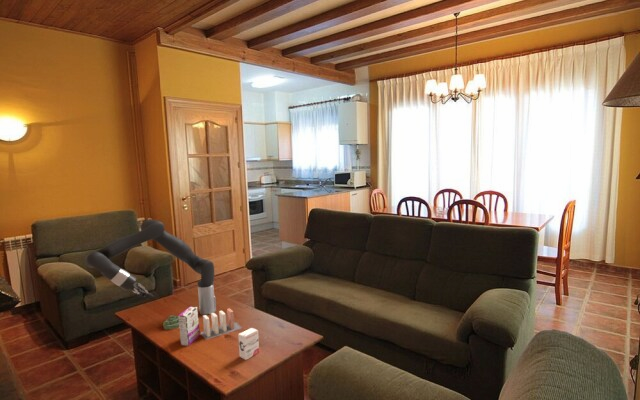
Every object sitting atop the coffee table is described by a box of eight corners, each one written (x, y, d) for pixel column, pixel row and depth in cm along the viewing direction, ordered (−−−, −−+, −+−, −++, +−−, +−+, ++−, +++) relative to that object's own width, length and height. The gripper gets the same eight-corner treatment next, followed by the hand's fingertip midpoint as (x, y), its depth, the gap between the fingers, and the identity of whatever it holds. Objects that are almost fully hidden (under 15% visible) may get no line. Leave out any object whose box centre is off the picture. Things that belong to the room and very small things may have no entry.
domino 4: (230, 324, 207) (229, 308, 206) (234, 328, 202) (233, 311, 201) (227, 325, 206) (226, 308, 205) (231, 329, 201) (230, 312, 200)
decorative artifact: (159, 327, 207) (171, 331, 202) (158, 316, 206) (170, 319, 201) (175, 320, 216) (186, 324, 210) (174, 309, 215) (185, 312, 210)
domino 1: (207, 332, 199) (205, 314, 198) (210, 336, 195) (209, 318, 193) (204, 333, 198) (202, 315, 197) (207, 337, 194) (206, 319, 192)
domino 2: (215, 329, 202) (213, 312, 200) (218, 333, 197) (217, 316, 196) (212, 330, 201) (211, 313, 200) (215, 334, 196) (214, 316, 195)
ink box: (253, 349, 181) (251, 326, 180) (259, 352, 178) (258, 329, 176) (239, 356, 175) (237, 333, 173) (245, 360, 171) (244, 336, 170)
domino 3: (223, 327, 204) (221, 310, 203) (226, 331, 200) (225, 313, 199) (220, 328, 203) (219, 311, 202) (223, 332, 199) (222, 314, 198)
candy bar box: (191, 335, 197) (189, 306, 195) (200, 335, 196) (198, 306, 194) (180, 345, 186) (177, 315, 184) (188, 346, 185) (186, 316, 183)
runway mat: (235, 322, 211) (235, 321, 211) (242, 328, 203) (242, 328, 203) (199, 333, 199) (199, 332, 199) (205, 340, 191) (205, 339, 191)
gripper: (128, 277, 174) (158, 297, 181) (129, 269, 186) (157, 288, 193) (117, 289, 173) (147, 309, 179) (119, 281, 185) (147, 300, 191)
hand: (152, 298), depth 186 cm, fingers closed
